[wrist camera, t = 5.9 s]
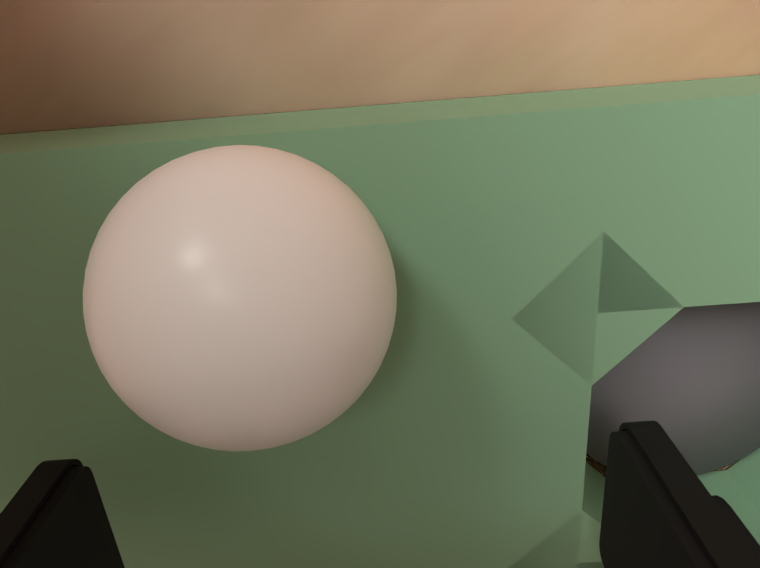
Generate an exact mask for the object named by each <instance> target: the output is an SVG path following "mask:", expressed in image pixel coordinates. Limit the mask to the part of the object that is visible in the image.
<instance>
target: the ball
mask: <svg viewBox="0 0 760 568" xmlns="http://www.w3.org/2000/svg"><path fill="white" fill-rule="evenodd" d="M396 309H397V287H396V278H395V270H394V266H393V262H392V258H391V254H390V251H389V248H388V246H387V243H386V240H385V238H384V235H383V233H382V231H381V229H380V228H379V226H378V224H377V222H376V220H375V219H374V217H373V215H372V214H371V213H370V211H369V210H368V209H367V207H366V206H365V204H364V203H363V202H362V200H361V199H360V198H359V197H358V196H357V195H356V194H355V193H354V192H353V191H352V190H351V189H350V188H349V187H348V186H347V185H346V184H344V183H343V182H342V181H341V180H340V179H338V178H337V177H336V176H335V175H333V174H332V173H330V172H329V171H327V170H325V169H324V168H322V167H321V166H319V165H317V164H316V163H314V162H311V161H309V160H307V159H305V158H303V157H300V156H298V155H295V154H292V153H289V152H286V151H282V150H279V149H274V148H268V147H262V146H254V145H230V146H219V147H213V148H208V149H204V150H200V151H195V152H192V153H190V154H187V155H184V156H182V157H179V158H176V159H174V160H172V161H170V162H168V163H166V164H164V165H162V166H161V167H159V168H157V169H155V170H153V171H152V172H151V173H149V174H148V175H147V176H145V177H144V178H142V179H141V180H140V181H138V182H137V183H136V184H135V185H134V186H133V187H132V188H131V189H130V190H129V191H128V192H127V193H125V194H124V195H123V196H122V198H121V199H120V200H119V201H118V203H117V204H116V205H115V206H114V208H113V209H112V210H111V211H110V213H109V214H108V216H107V218H106V219H105V221H104V223H103V224H102V226H101V228H100V229H99V231H98V234H97V236H96V238H95V241H94V243H93V246H92V248H91V251H90V254H89V258H88V262H87V266H86V270H85V277H84V286H83V315H84V321H85V328H86V334H87V337H88V340H89V343H90V347H91V350H92V353H93V355H94V357H95V360H96V362H97V364H98V366H99V368H100V370H101V372H102V374H103V375H104V377H105V378H106V380H107V382H108V383H109V385H110V386H111V388H112V389H113V390H114V392H115V393H116V394H117V395H118V396H119V397H120V399H121V400H122V401H123V402H124V403H125V404H126V405H127V406H128V407H129V408H130V409H131V410H132V411H133V412H135V413H136V414H137V415H138V416H139V417H140V418H141V419H143V420H144V421H146V422H147V423H149V424H150V425H152V426H153V427H155V428H156V429H158V430H160V431H162V432H163V433H165V434H167V435H169V436H171V437H173V438H175V439H178V440H181V441H184V442H186V443H189V444H192V445H195V446H200V447H204V448H209V449H213V450H223V451H255V450H261V449H268V448H274V447H278V446H281V445H285V444H288V443H291V442H295V441H297V440H299V439H302V438H304V437H306V436H309V435H311V434H313V433H315V432H316V431H318V430H320V429H321V428H323V427H325V426H327V425H328V424H330V423H331V422H332V421H334V420H335V419H336V418H338V417H339V416H340V415H341V414H343V413H344V412H345V411H346V410H347V409H348V408H349V407H350V406H351V405H352V404H353V403H354V402H355V401H356V400H357V399H358V398H359V397H360V396H361V394H362V393H363V392H364V391H365V389H366V388H367V387H368V385H369V384H370V383H371V381H372V379H373V378H374V376H375V374H376V373H377V371H378V369H379V367H380V366H381V363H382V361H383V359H384V356H385V354H386V352H387V349H388V347H389V343H390V339H391V336H392V332H393V329H394V323H395V316H396Z"/></svg>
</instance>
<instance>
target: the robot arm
mask: <svg viewBox="0 0 760 568" xmlns="http://www.w3.org/2000/svg"><path fill="white" fill-rule="evenodd" d="M599 549H600V556H601V560H602V563H603V566H604V568H760V545H759V544H758V542H757V541H756V540H755V538H754V537H753V536H752V534H751V533H750V532H749V530H748V529H747V528H746V526H745V525H744V524H743V522H742V521H741V520H740V518H739V517H738V516H737V514H736V513H735V511H734V510H733V509H732V507H731V506H730V505H729V504H728V503H727V502H726V501H725V500H724V499H723V498H721V497H719V496H718V495H712V496H711V494H710V493H709V492H708V490H707V489H706V488H705V486H704V485H703V483H702V482H701V481H700V479H699V478H698V476H697V475H696V474H695V472H694V471H693V469H692V468H691V467H690V465H689V464H688V462H687V461H686V460H685V458H684V457H683V456H682V454H681V453H680V451H679V450H678V449H677V447H676V446H675V444H674V443H673V442H672V440H671V439H670V437H669V436H668V435H667V433H666V432H665V431H664V429H663V428H662V426H661V425H660V424H659V423H658V422H657V421H639V422H624V423H622V424H621V425H620V427H619V431H615V432H611V434H610V437H609V446H608V457H607V467H606V477H605V488H604V498H603V508H602V519H601V529H600V539H599ZM0 568H125V567H124V564H123V561H122V558H121V555H120V552H119V549H118V546H117V543H116V540H115V537H114V534H113V532H112V529H111V526H110V523H109V520H108V517H107V514H106V511H105V508H104V505H103V502H102V499H101V496H100V493H99V490H98V487H97V484H96V481H95V478H94V476H93V473H92V471H91V469H90V468H89V467H87V466H83V464H82V462H81V461H80V460H78V459H62V460H47V461H43V462H41V463H40V464H39V465H38V466H37V467H36V468H35V469H34V471H33V472H32V473H31V475H30V476H29V477H28V478H27V480H26V481H25V482H24V484H23V485H22V486H21V488H20V489H19V490H18V491H17V493H16V494H15V495H14V497H13V498H12V499H11V500H10V502H9V503H8V504H7V506H6V507H5V508H4V510H3V511H2V512H1V513H0Z"/></svg>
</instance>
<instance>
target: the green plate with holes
mask: <svg viewBox="0 0 760 568" xmlns="http://www.w3.org/2000/svg"><path fill="white" fill-rule="evenodd" d="M230 145H254V146H262V147H268V148H274V149H279V150H282V151H286V152H289V153H292V154H295V155H298V156H300V157H303V158H305V159H307V160H309V161H311V162H314V163H316V164H317V165H319V166H321V167H322V168H324V169H325V170H327V171H329V172H330V173H332V174H333V175H335V176H336V177H337V178H338V179H340V180H341V181H342V182H343V183H344V184H346V185H347V186H348V187H349V188H350V189H351V190H352V191H353V192H354V193H355V194H356V195H357V196H358V197H359V198H360V199H361V200H362V202H363V203H364V204H365V206H366V207H367V209H368V210H369V211H370V213H371V214H372V215H373V217H374V219H375V220H376V222H377V224H378V226H379V228H380V229H381V231H382V233H383V235H384V238H385V240H386V243H387V246H388V248H389V251H390V254H391V258H392V262H393V266H394V270H395V278H396V287H397V309H396V316H395V323H394V329H393V332H392V336H391V339H390V343H389V347H388V349H387V352H386V354H385V356H384V359H383V361H382V363H381V366H380V367H379V369H378V371H377V373H376V374H375V376H374V378H373V379H372V381H371V383H370V384H369V385H368V387H367V388H366V389H365V391H364V392H363V393H362V394H361V396H360V397H359V398H358V399H357V400H356V401H355V402H354V403H353V404H352V405H351V406H350V407H349V408H348V409H347V410H346V411H345V412H344V413H343V414H341V415H340V416H339V417H338V418H336V419H335V420H334V421H332V422H331V423H330V424H328V425H327V426H325V427H323V428H321V429H320V430H318V431H316V432H315V433H313V434H311V435H309V436H306V437H304V438H302V439H299V440H297V441H295V442H291V443H288V444H285V445H281V446H278V447H274V448H268V449H261V450H255V451H223V450H213V449H209V448H204V447H200V446H195V445H192V444H189V443H186V442H184V441H181V440H178V439H175V438H173V437H171V436H169V435H167V434H165V433H163V432H162V431H160V430H158V429H156V428H155V427H153V426H152V425H150V424H149V423H147V422H146V421H144V420H143V419H141V418H140V417H139V416H138V415H137V414H136V413H135V412H133V411H132V410H131V409H130V408H129V407H128V406H127V405H126V404H125V403H124V402H123V401H122V400H121V399H120V397H119V396H118V395H117V394H116V393H115V392H114V390H113V389H112V388H111V386H110V385H109V383H108V382H107V380H106V378H105V377H104V375H103V374H102V372H101V370H100V368H99V366H98V364H97V362H96V360H95V357H94V355H93V353H92V350H91V347H90V343H89V340H88V337H87V334H86V328H85V321H84V315H83V286H84V277H85V270H86V266H87V262H88V258H89V254H90V251H91V248H92V246H93V243H94V241H95V238H96V236H97V234H98V231H99V229H100V228H101V226H102V224H103V223H104V221H105V219H106V218H107V216H108V214H109V213H110V211H111V210H112V209H113V208H114V206H115V205H116V204H117V203H118V201H119V200H120V199H121V198H122V196H123V195H124V194H125V193H127V192H128V191H129V190H130V189H131V188H132V187H133V186H134V185H135V184H136V183H137V182H138V181H140V180H141V179H142V178H144V177H145V176H147V175H148V174H149V173H151V172H152V171H153V170H155V169H157V168H159V167H161V166H162V165H164V164H166V163H168V162H170V161H172V160H174V159H176V158H179V157H182V156H184V155H187V154H190V153H192V152H195V151H200V150H204V149H208V148H213V147H219V146H230ZM639 421H657V422H658V423H659V424H660V425H661V426H662V428H663V429H664V431H665V432H666V433H667V435H668V436H669V437H670V439H671V440H672V442H673V443H674V444H675V446H676V447H677V449H678V450H679V451H680V453H681V454H682V456H683V457H684V458H685V460H686V461H687V462H688V464H689V465H690V467H691V468H692V469H693V471H694V472H695V474H696V475H697V476H698V478H699V479H700V481H701V482H702V483H703V485H704V486H705V488H706V489H707V490H708V492H709V493H710V494H711V496H712V495H718V496H719V497H721V498H723V499H724V500H725V501H726V502H727V503H728V504H729V505H730V506H731V507H732V509H733V510H734V511H735V513H736V514H737V516H738V517H739V518H740V520H741V521H742V522H743V524H744V525H745V526H746V528H747V529H748V530H749V532H750V533H751V534H752V536H753V537H754V538H755V540H756V541H757V542H758V544H759V545H760V75H750V76H737V77H725V78H712V79H699V80H687V81H674V82H661V83H649V84H636V85H623V86H611V87H598V88H585V89H573V90H560V91H547V92H535V93H522V94H510V95H497V96H484V97H472V98H459V99H446V100H434V101H421V102H408V103H396V104H383V105H370V106H358V107H345V108H332V109H320V110H307V111H294V112H282V113H269V114H256V115H244V116H231V117H218V118H206V119H193V120H181V121H168V122H155V123H143V124H130V125H117V126H105V127H92V128H79V129H67V130H54V131H41V132H29V133H16V134H3V135H0V513H1V512H2V511H3V510H4V508H5V507H6V506H7V504H8V503H9V502H10V500H11V499H12V498H13V497H14V495H15V494H16V493H17V491H18V490H19V489H20V488H21V486H22V485H23V484H24V482H25V481H26V480H27V478H28V477H29V476H30V475H31V473H32V472H33V471H34V469H35V468H36V467H37V466H38V465H39V464H40V463H41V462H43V461H47V460H62V459H78V460H80V461H81V462H82V464H83V466H87V467H89V468H90V469H91V471H92V473H93V476H94V478H95V481H96V484H97V487H98V490H99V493H100V496H101V499H102V502H103V505H104V508H105V511H106V514H107V517H108V520H109V523H110V526H111V529H112V532H113V534H114V537H115V540H116V543H117V546H118V549H119V552H120V555H121V558H122V561H123V564H124V567H125V568H604V566H603V563H602V560H601V556H600V549H599V539H600V529H601V519H602V508H603V498H604V488H605V476H603V475H602V474H601V473H599V472H598V471H597V470H596V469H594V468H593V467H592V466H590V465H589V464H588V463H587V462H586V453H587V454H588V455H589V456H590V457H592V458H593V459H594V460H596V461H597V462H599V463H600V464H602V465H604V466H606V467H607V457H608V446H609V437H610V434H611V432H615V431H619V427H620V425H621V424H622V423H624V422H639ZM740 459H741V460H740ZM738 460H739V461H738ZM736 461H738V462H736ZM734 462H736V463H735V464H734V465H732V466H731V467H730V468H728V469H727V470H720V471H714V470H718V469H720V468H723V467H725V466H727V465H730V464H732V463H734Z"/></svg>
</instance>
